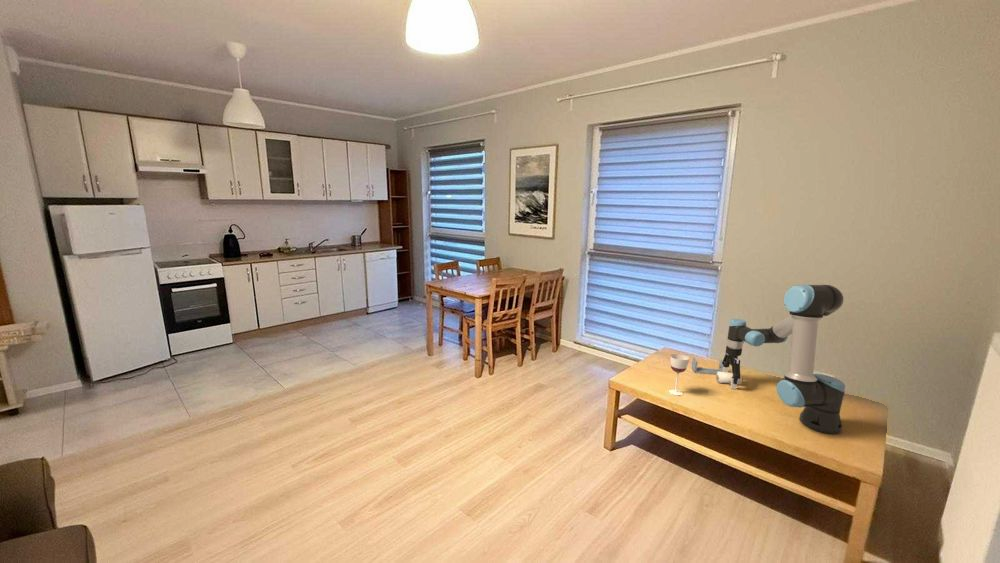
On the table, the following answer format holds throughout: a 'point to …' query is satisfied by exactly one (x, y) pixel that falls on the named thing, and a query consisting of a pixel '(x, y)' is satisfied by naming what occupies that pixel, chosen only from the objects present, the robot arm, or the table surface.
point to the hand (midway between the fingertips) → (728, 383)
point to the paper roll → (726, 378)
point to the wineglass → (678, 368)
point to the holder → (706, 370)
